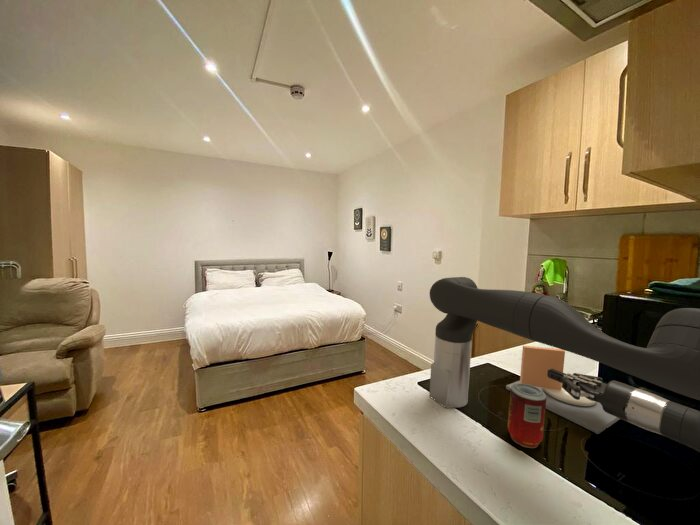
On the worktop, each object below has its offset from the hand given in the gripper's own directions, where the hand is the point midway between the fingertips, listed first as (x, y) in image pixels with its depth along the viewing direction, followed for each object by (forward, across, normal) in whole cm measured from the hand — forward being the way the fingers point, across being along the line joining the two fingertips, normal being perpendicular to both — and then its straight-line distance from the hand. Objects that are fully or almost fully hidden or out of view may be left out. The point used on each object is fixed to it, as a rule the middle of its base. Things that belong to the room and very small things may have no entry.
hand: (548, 372), depth 78 cm
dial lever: (0, -6, +7) cm, 9 cm away
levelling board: (-2, -8, +8) cm, 12 cm away
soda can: (-6, +20, +9) cm, 23 cm away
